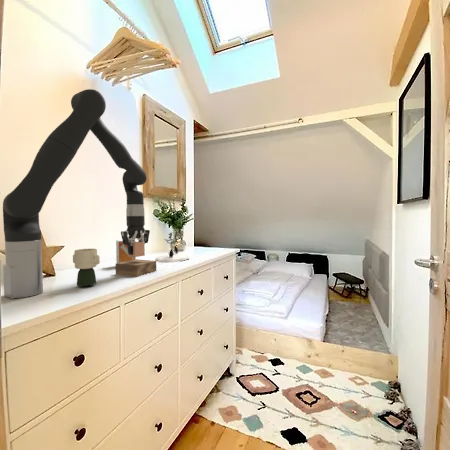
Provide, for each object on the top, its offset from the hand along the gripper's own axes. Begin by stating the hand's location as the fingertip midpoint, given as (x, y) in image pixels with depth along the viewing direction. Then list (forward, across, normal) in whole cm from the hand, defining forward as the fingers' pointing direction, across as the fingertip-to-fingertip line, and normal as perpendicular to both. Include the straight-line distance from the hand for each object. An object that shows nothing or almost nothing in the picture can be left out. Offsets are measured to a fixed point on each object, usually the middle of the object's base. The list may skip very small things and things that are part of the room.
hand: (136, 253), depth 115 cm
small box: (+9, +8, +18) cm, 22 cm away
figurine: (+9, +35, +12) cm, 38 cm away
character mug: (+8, -24, -3) cm, 26 cm away
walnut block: (+9, 0, 0) cm, 9 cm away
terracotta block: (+1, 0, 0) cm, 1 cm away
